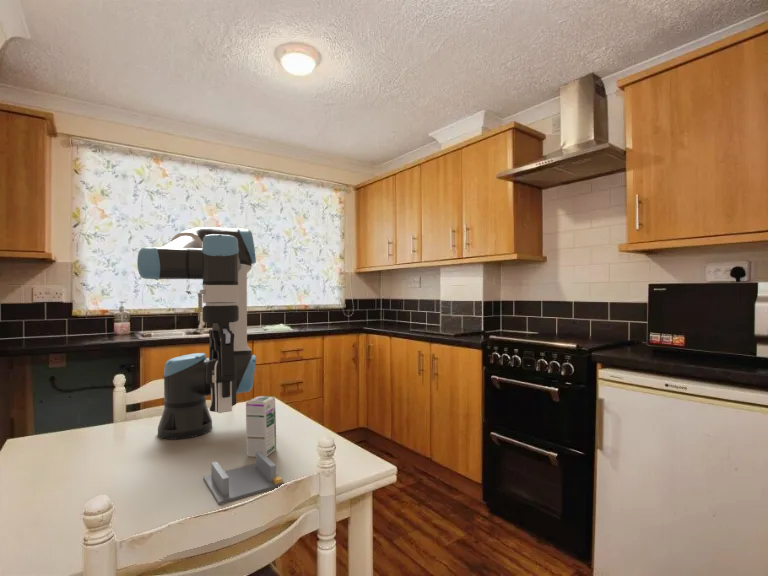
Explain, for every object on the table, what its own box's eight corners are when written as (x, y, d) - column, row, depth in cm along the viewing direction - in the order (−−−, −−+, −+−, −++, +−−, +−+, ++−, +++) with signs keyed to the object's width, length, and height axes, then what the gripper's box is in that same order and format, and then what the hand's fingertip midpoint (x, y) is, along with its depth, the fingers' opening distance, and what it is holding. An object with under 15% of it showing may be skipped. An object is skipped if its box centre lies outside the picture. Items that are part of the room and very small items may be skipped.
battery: (222, 404, 96) (222, 354, 96) (237, 404, 95) (237, 355, 95) (203, 412, 89) (203, 359, 89) (219, 413, 88) (218, 360, 88)
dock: (203, 479, 95) (203, 461, 95) (263, 463, 103) (263, 447, 103) (219, 504, 83) (218, 484, 83) (284, 485, 92) (284, 466, 92)
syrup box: (266, 458, 106) (266, 402, 106) (245, 456, 108) (245, 400, 108) (276, 449, 112) (276, 396, 112) (256, 448, 113) (256, 395, 113)
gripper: (195, 304, 98) (195, 401, 98) (211, 306, 82) (212, 422, 82) (227, 303, 102) (228, 396, 102) (250, 305, 86) (250, 415, 86)
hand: (221, 407), depth 92 cm, fingers closed on battery, 7 cm apart
